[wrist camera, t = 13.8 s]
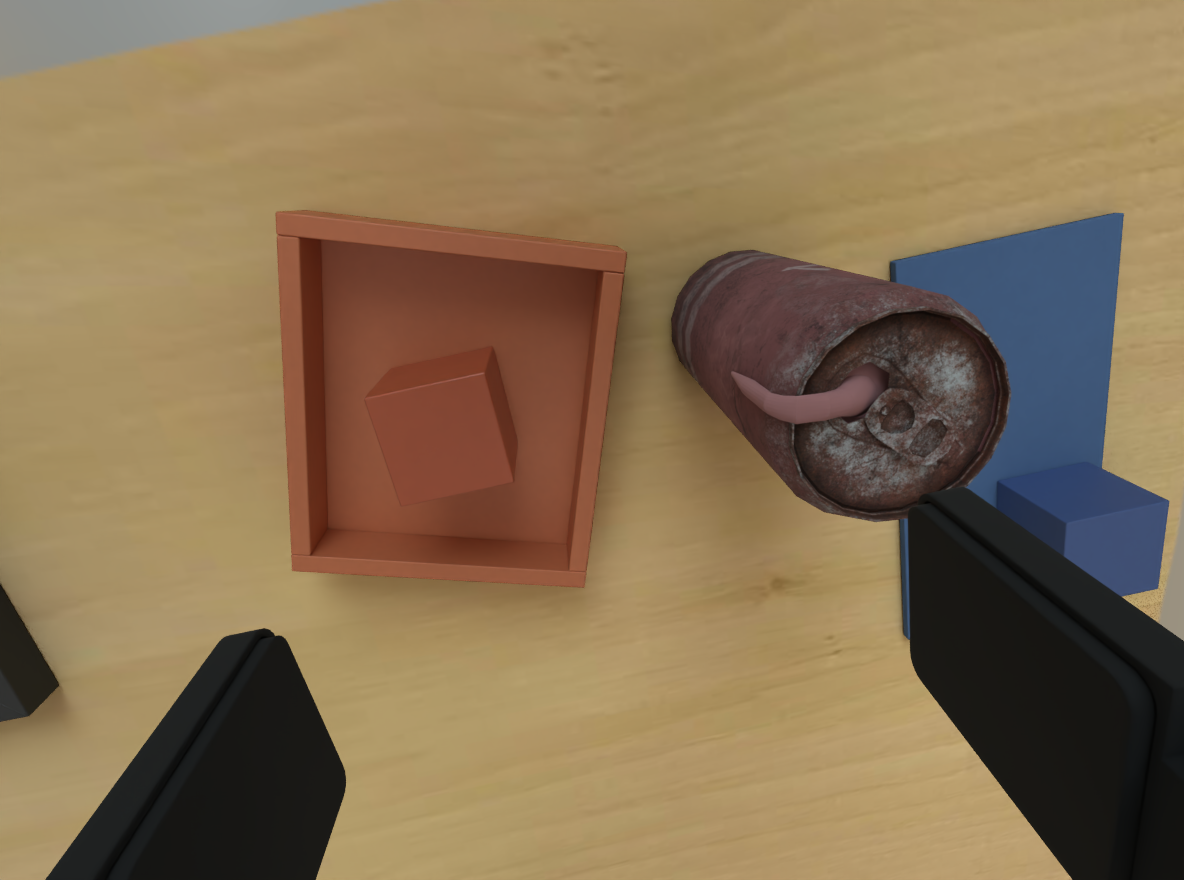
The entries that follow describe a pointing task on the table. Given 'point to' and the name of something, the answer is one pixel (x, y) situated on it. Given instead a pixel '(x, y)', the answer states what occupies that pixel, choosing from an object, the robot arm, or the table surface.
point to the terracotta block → (444, 426)
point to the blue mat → (1035, 341)
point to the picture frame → (20, 667)
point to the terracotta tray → (427, 331)
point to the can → (844, 379)
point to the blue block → (1092, 522)
